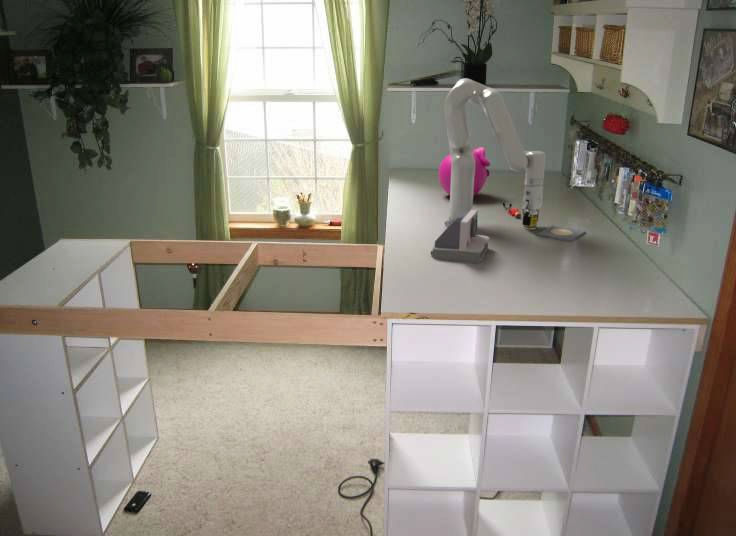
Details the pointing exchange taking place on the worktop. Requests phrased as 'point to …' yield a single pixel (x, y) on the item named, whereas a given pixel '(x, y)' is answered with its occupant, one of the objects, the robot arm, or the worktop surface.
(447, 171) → the figurine
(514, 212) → the person figure
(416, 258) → the worktop surface
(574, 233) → the card
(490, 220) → the worktop surface
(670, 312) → the worktop surface
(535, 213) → the supplement bottle
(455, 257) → the grey angle bracket
